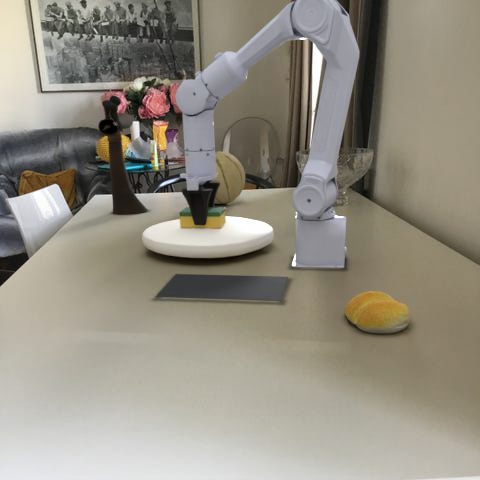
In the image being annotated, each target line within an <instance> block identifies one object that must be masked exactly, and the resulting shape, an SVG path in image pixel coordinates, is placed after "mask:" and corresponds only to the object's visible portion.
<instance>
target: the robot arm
mask: <svg viewBox="0 0 480 480" xmlns="http://www.w3.org/2000/svg"><path fill="white" fill-rule="evenodd" d="M299 40H300V41H301V40H309V41H310V42H312V43H313V44H314V45H315V47H316V49H317V50H318V51H319V53H320V54H321V56H322V57H323V58H324V60H325V61H326V64H325V70H324V75H323V79H322V80H323V81H322V85H321V91H320V96H319V101H318V107H317V111H316V117H315V122H314V127H313V133H312V137H311V143H310V148H309V153H308V159H307V162H306V164H305V165H304V169H303V171H302V173H301V178H300V181H299V184H298V185H297V186H296V188H294V191H293V193H292V196H291V202H292V208H293V209H294V211H295V233H294V235H295V240H294V242H295V243H294V247H295V248H294V255H293V259H292V262H291V265H290V266H291V267H293V268H322V269H323V268H324V269H325V268H326V269H327V268H330V269H344V268H345V258H346V257H348V256H347V255H348V247H347V246H346V235H347V216H341V215H340V216H339V215H337V214H336V213H337V212H336V211H335V209H334V207H333V205H334V204H335V203H336V201H338V197H339V187H338V182H337V179H338V173H339V171H338V159H339V154H340V149H341V145H342V140H343V135H344V131H345V126H346V121H347V117H348V111H349V107H350V103H351V98H352V94H353V88H354V85H355V84H354V83H355V80H356V79H355V78H356V74H357V71H358V70H357V69H358V65H359V59H360V48H359V45H358V42H357V39H356V36H355V33H354V29H353V27H352V24H351V18H350V14H349V13H348V12H347V11H346V10H345V8H344V7H343V5H342V4H340V2H339V1H338V0H296V1H292V2H289V3H288V4H287V5H286V6H284V7H283V8H282V10H281V11H280V12H279V13H278V14H277V15H276V16H275V17H273V18H272V19H271V20H270V21H269V22H268V23H267V24H266V25H265V26H264V27H263V28H261V29H260V30H259V31H258V32H257V33H256V34H255V35H254V36H253V37H252V38H251V39H249V40H248V41H247V42H246V43H245V44H244V45H243V46H242V47H241V48H240V49H239V50H238V51H237V52H235V51H231V50H227V51H225V52H217V54H216V55H214V61H213V62H212V63H211V64H209V65H208V66H207V67H206V68H204V69H203V70H202V71H200V70H197V72H196V73H195V74H194V76H195V78H194V79H185V80H183V81H182V82H181V84H180V85H179V86H178V87H177V90H176V92H175V103H176V105H177V108H178V109H179V110H180V111H181V112H182V130H183V147H184V148H183V150H184V165H185V172H183V173H180V174H179V178H180V179H184V180H186V186H185V187H184V186H183V187H182V188H181V194H182V195H183V197H184V199H185V201H186V202H187V205H188V207H189V208H190V211H191V214H192V218H193V221H194V224H195V225H206V221H207V211H208V207H215V204H214V203H215V197H216V194H217V191H218V188H219V186H220V181H212V179H216V178H217V173H216V161H215V152H216V141H215V122H214V121H215V120H214V119H215V118H214V112H215V110H216V108H217V107H218V104H219V102H221V101H222V100H223V99H224V98H226V96H228V95H229V94H231V93H232V92H234V90H236V89H237V88H238V87H239V86H241V85H242V84H243V83H245V82H246V81H247V79H248V73H249V69H250V68H251V67H253V66H254V65H256V64H257V63H258V62H259V61H262V59H264V58H265V57H266V56H268V55H270V54H271V53H272V52H273V51H275V50H276V49H278V48H279V47H280V46H282V45H284V43H286V42H288V41H299Z"/></svg>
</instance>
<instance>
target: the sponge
mask: <svg viewBox="0 0 480 480" xmlns="http://www.w3.org/2000/svg"><path fill="white" fill-rule="evenodd" d="M225 216H226V207H224V206H222V207H221V206H219V207H215V206H214V207H208V211H207V221H206V225H195V224H194V221H193V218H192V214H191V211H190V208H189V206H186V207H184V208H183V209H181V211H179V219H180V227H181V228H221V227H222V226H223V225H224V224H225V222H226V217H225Z"/></svg>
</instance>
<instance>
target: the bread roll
mask: <svg viewBox="0 0 480 480" xmlns="http://www.w3.org/2000/svg"><path fill="white" fill-rule="evenodd" d="M344 313H345V316H346V318H347V320H348V321H349V322H350V323H351V324H353V325H355V326H356V327H357V328H358V329H359V330H360V331H363V332H365V333H371V334H373V333H375V334H393V333H398V332H400V331H403V330H404V329H406V328H407V327H408V326H409V324H410V321H411V313H410V309H409V308H408V306H407V304H405V303H402V302H400V301H396V300H395V299H394V298H393V297H392V296H390V295H388V294H387V293H385V292H382V291H376V290H369V291H368V290H367V291H363V292H361V293H359V294H357V295H356V296H354V297H353V298H351V299H350V300H349V301H348V303H347V304H346V305H345V307H344Z"/></svg>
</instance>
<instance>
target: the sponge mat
mask: <svg viewBox="0 0 480 480" xmlns="http://www.w3.org/2000/svg"><path fill="white" fill-rule="evenodd" d="M288 279H289V276H278V275H277V276H275V275H235V274H233V275H232V274H227V275H226V274H197V273H194V274H193V273H188V274H187V273H175V274H174V276H173V277H171V278H170V280H169V281H168V282H167V283H166V284H165V286H163V287H162V289H161V290H160V291H159V292H158V293H156V295H155V298H171V299H172V298H173V299H174V298H176V299H202V300H203V299H207V300H231V301H232V300H235V301H260V302H261V301H262V302H263V301H264V302H265V301H266V302H267V301H269V302H282V299H283V298H282V297H283V296H284V292H285V289H286V286H287V282H288Z"/></svg>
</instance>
